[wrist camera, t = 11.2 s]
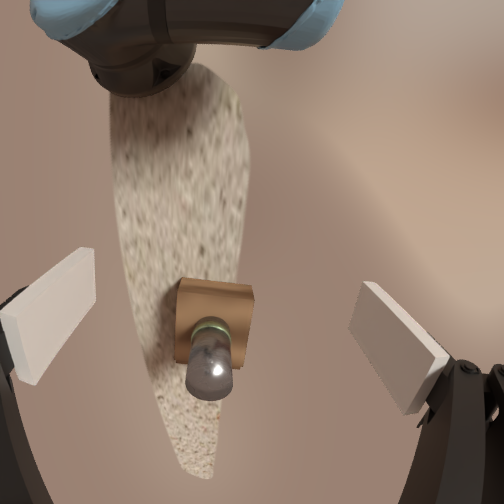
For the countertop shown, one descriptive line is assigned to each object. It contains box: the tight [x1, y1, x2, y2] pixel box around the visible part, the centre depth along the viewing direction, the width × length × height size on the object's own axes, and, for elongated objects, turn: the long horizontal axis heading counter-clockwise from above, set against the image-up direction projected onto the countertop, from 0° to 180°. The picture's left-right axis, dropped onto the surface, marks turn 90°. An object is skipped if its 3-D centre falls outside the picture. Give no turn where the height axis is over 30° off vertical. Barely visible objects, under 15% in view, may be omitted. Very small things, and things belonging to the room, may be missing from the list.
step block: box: [174, 277, 255, 369], centre depth 43 cm, size 14×10×5 cm
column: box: [185, 316, 233, 401], centre depth 35 cm, size 5×5×11 cm
